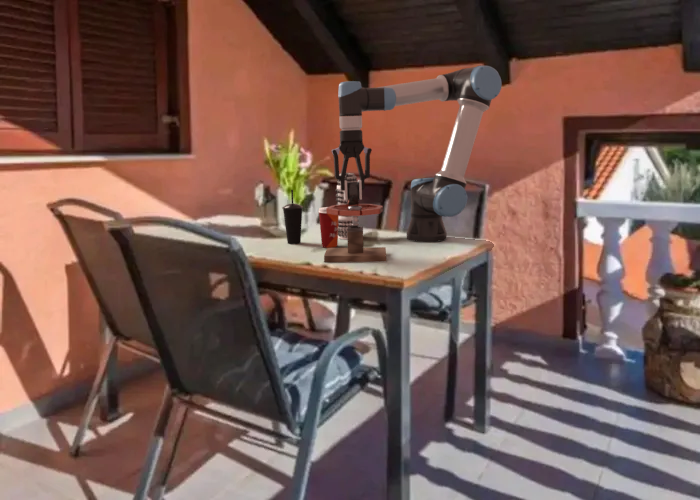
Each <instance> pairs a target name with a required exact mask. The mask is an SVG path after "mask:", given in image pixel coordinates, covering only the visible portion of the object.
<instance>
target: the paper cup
mask: <svg viewBox="0 0 700 500" xmlns="http://www.w3.org/2000/svg"><path fill="white" fill-rule="evenodd" d="M328 207H329V206H326V207H319V208H318V215H319V217H318V218H319V227H320V228H319V229H320V237H321V246H322V248H325V249H327V248H338V245H339V243H338V242H339V241H338V240H339V239H338V217H339V215H333V214H327V212H326V208H328Z"/></svg>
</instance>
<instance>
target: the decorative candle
mask: <svg viewBox="0 0 700 500" xmlns="http://www.w3.org/2000/svg"><path fill="white" fill-rule="evenodd" d="M339 176H341V172H339ZM336 180H337V181H336V184H337V185H336V189H335V190H334V191H335V192H336V194H335V197H336V198H335V202H337V203H336V204H335V205H343V204H347V200H346V201H345V200H344V190H341V184H340V180H338V179H336ZM345 180H346V181H347V182H358V177H357V176H356V174H355V173H354V172H346V175H345ZM351 220H352V216H340V215H339V217H338V240H346V241H348V235H347V229H348V227H353V226H352V221H351ZM359 222H360V220H359V221H358V223H359ZM358 226H360V224H359V225H358Z"/></svg>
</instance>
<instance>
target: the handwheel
mask: <svg viewBox="0 0 700 500" xmlns="http://www.w3.org/2000/svg"><path fill="white" fill-rule="evenodd" d="M347 197H348V200H347V204H343V205H336V204H334V205H330V206H327V207H328V208H326V212H327V214H333V215H340V216H352V220H351V221H352V226H353V228H358V225H359V226H360V223H359V222H360V219H359V216H371V215H372V216H373V215H379V214H381V213H383V212H384V205H379V204H375V203H360V200H359V182H358V181H357V182H347ZM358 221H359V222H358Z"/></svg>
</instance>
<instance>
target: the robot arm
mask: <svg viewBox="0 0 700 500" xmlns="http://www.w3.org/2000/svg"><path fill="white" fill-rule="evenodd" d="M501 90H502V79H501V76H500V74H499V72H498V71H497V69H495V68H494V67H493V66H490V65H477V66H473V67H466V68H465V67H464V68H462V69H458V70H454V71H452V72H447V73H445V74H439V75H437V77H436V78H430V79H423V80H418V81H410V82H405V83H404V82H403V83H396V84H391V85H386V86H385V85H384V86H378V87H363V86H362V83H361V81H356V80H355V81H354V80H352V81H351V80H349V81H341V82H339V84H338V92H337V93H338V97H337V98H338V111H339V113H338V118H339V119H338V120H339V129H341V130H340V131H339V145H338V147H337V148H334V149H331V154H332V156H333V169H334V179H336V180H337V179H338V180H340V184H341V190H344V200H345V201H346V200H348V197H347V181H346V180H345V175H346V173H347V169H348V164H349V160H350V159H351V158H354V159H355V163H356V169H357V172H358V177H359V179H357V182H359V201H361V200H363V197H362V196H363V191H362V190H365V186H366V185H365V183H366V182H365V181H366V180H367V179H369V178H371V170H370V169H371V154H372V148H371V147H366V146H365V145H364V141H363V131H362V128H363V117H362V116H363V113H364V112H375V111H379V112H380V111H392V110H393V109H394V108H395V107H400V106H404V105H405V106H407V105H412V104H419V103H425V102H431V101H437V100H439V101H440V102H448V101H449V102H450V101H451V102H452V101H453V102H454V101H457V103H458V105H459V108H458V111H457V114H456V118H455V122H454V124H453V128H452V131H451V134H450V138H449V142H448V145H447V148H446V152H445V155H444V159H443V161H442V165H441V169H440V170H439V172H436V173H435V174H434V176H433V177H425V178H424V177H423V178H415V179H413V180H411V183H410V221H409V224H408V228H407V231H406V240H407V241H412V242H418V243H431V242H434V243H436V242H441V241H445V240H447V230H446V227H445V223H444V220H443V217H446V218H447V217H449V218H450V217H455V216H457V215H459V214H461V213H462V212H463V210H465V208H466V207H467V204H468V194H467V190H466V186H467V181H466V179H465V175H466V171H467V169H468V165H469V162H470V158H471V154H472V151H473V149H474V145H475V141H476V138H477V135H478V131H479V128H480V125H481V121H482V118H483V115H484V112H487V110H489V109H490V106H491V103H492V100H494V99H496V97H498V96H499V94H500V93H501ZM340 152H341V154H342V155H343V161H342V166H341V172H340V164H339V155H340ZM362 152H363V153H364V170H363V166H362V161H361V153H362ZM340 173H341V176H339V174H340Z"/></svg>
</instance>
